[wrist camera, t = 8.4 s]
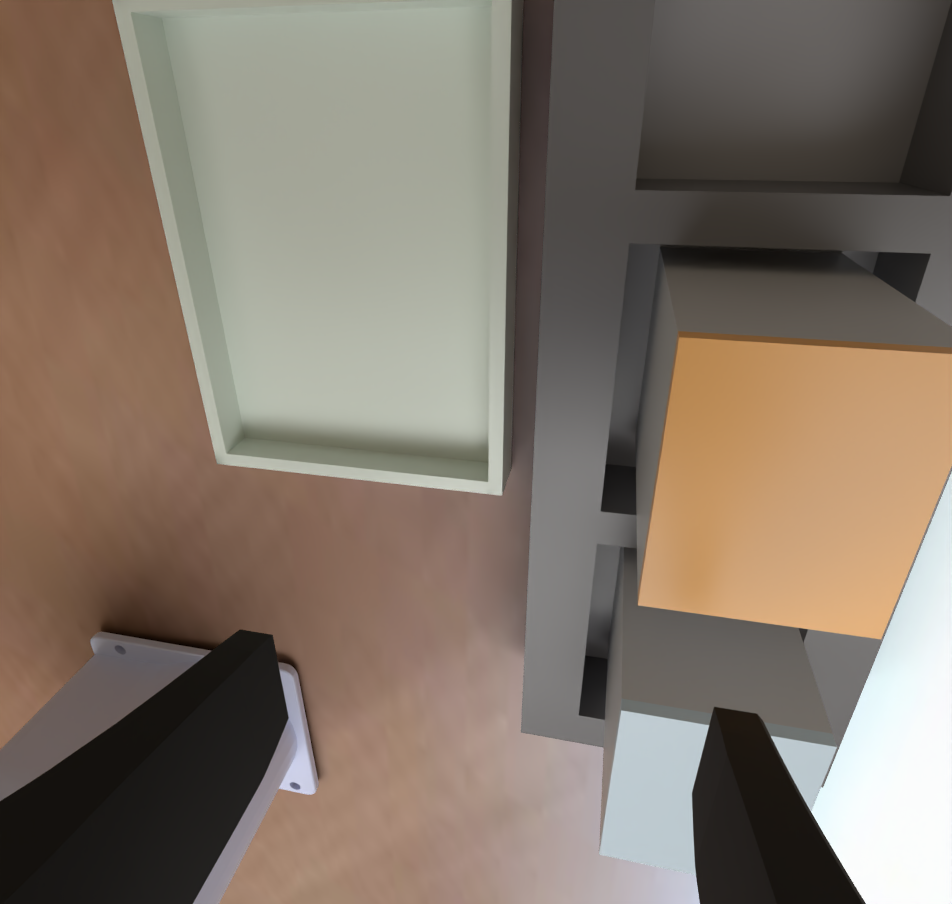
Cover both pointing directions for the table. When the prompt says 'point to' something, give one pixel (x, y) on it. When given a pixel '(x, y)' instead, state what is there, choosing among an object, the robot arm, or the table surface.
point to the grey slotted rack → (707, 227)
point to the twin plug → (693, 716)
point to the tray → (341, 226)
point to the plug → (787, 439)
